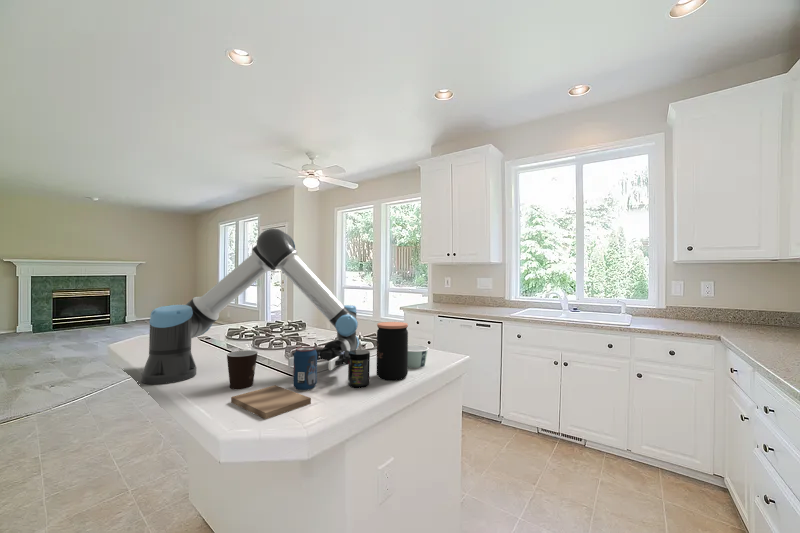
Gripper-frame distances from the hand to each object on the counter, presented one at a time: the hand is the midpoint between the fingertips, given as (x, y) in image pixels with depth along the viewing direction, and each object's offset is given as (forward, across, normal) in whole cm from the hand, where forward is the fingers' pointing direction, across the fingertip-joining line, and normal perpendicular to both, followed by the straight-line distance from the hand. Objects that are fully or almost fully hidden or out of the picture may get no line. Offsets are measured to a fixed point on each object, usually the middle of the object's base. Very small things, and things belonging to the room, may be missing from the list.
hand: (309, 364), depth 105 cm
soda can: (+1, +1, -7) cm, 7 cm away
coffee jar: (-17, -22, -7) cm, 29 cm away
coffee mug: (+3, +20, -7) cm, 22 cm away
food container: (-35, -26, -7) cm, 44 cm away
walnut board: (+15, +3, -7) cm, 17 cm away
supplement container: (-5, -14, -7) cm, 17 cm away
